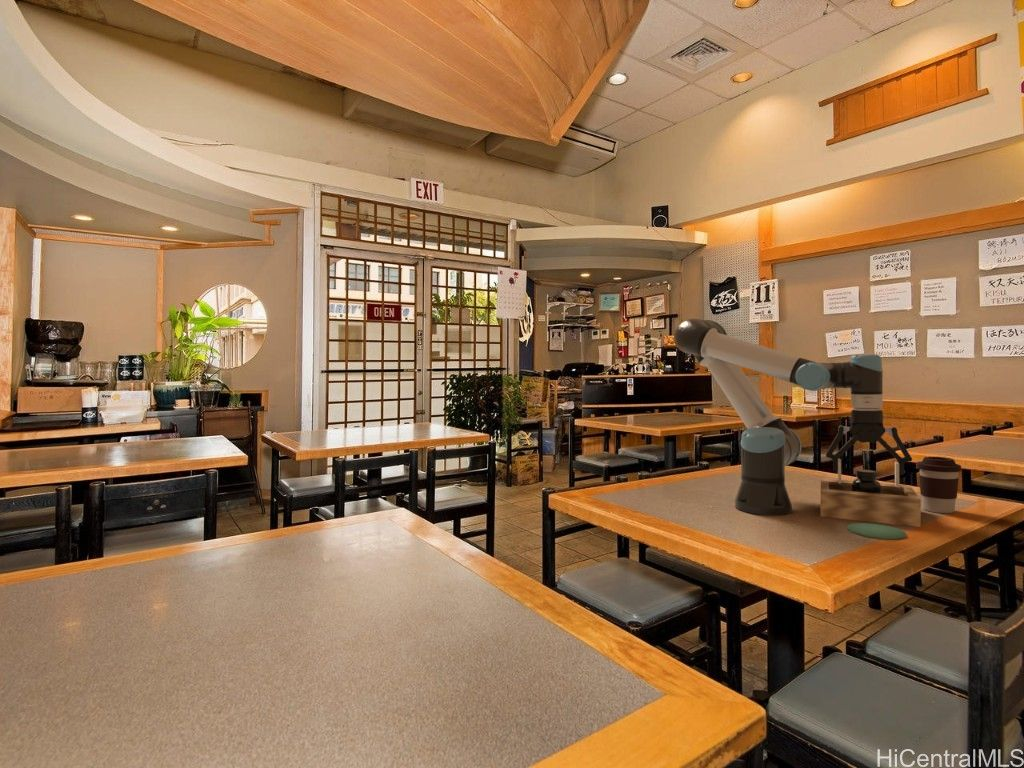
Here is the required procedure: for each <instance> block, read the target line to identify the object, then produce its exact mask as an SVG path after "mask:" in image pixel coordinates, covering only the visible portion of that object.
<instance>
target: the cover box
mask: <svg viewBox="0 0 1024 768" xmlns="http://www.w3.org/2000/svg"><path fill="white" fill-rule="evenodd" d="M853 481H854V480H844V479H841V484H840V483H838V479H831V478H820V517H822V518H823V517H824V518H832V519H843V520H851V521H862V522H869V523H870V522H871V523H877V524H879V523H880V524H888V525H899V526H907V527H908V526H909V527H915V528H917V527H918V528H921V517H922V516H921V510H922V509H921V507H922V499H921V498H920V497H919V496H918V494H917V492H916V491H915V490H914V488H913V487H912V485H907V484H899V487H896V486H895V483H884V482H881V483H880V482H879V483H880V485H881V494H878V493H866V492H854V491H852V482H853Z"/></svg>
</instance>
